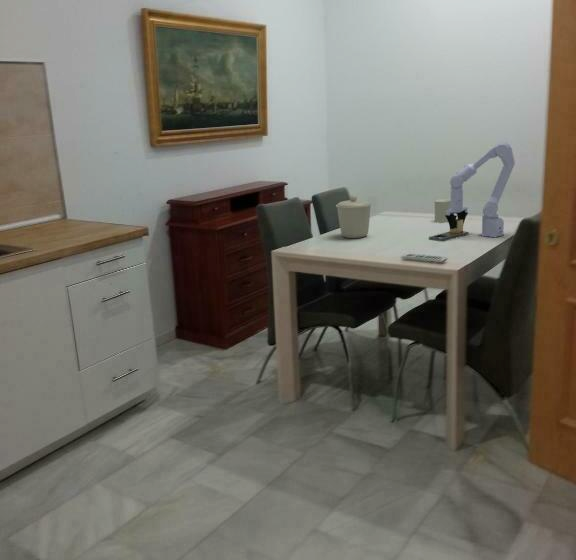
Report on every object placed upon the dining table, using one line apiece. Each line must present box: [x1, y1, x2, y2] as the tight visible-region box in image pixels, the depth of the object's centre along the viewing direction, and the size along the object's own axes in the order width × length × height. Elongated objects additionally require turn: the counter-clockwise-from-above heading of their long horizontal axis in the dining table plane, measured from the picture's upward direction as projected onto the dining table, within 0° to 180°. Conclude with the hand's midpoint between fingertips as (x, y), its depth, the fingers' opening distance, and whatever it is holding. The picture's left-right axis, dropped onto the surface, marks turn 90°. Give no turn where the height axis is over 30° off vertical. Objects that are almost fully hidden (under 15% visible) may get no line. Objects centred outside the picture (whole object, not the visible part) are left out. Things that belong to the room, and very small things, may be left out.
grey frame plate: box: [428, 230, 469, 242], centre depth 309 cm, size 8×20×1 cm, turn 129°
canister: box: [335, 194, 373, 239], centre depth 321 cm, size 18×18×21 cm
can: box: [434, 198, 451, 224], centre depth 348 cm, size 9×9×12 cm
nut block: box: [449, 218, 464, 234], centre depth 311 cm, size 4×4×8 cm
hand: (456, 227), depth 311 cm, fingers open, 6 cm apart
